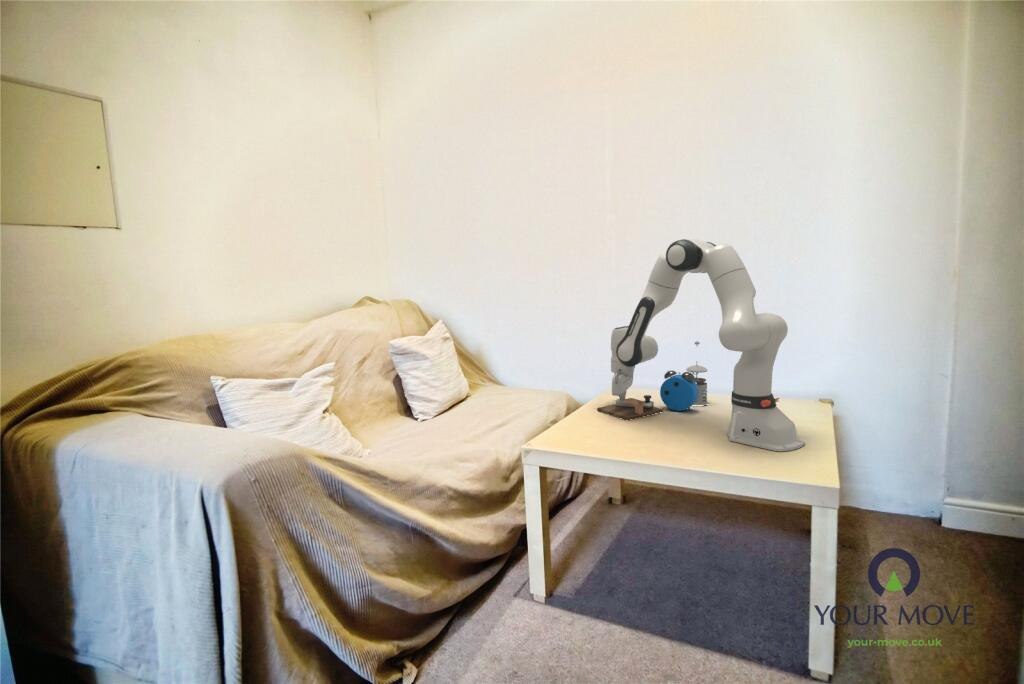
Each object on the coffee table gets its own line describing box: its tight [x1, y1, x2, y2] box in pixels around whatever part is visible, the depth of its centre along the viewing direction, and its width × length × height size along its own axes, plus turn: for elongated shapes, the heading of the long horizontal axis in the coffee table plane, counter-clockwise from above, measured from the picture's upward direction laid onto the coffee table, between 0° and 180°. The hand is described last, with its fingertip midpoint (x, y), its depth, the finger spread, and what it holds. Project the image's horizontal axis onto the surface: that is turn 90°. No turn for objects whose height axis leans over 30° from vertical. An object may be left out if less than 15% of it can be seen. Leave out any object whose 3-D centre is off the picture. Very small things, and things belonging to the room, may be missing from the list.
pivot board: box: [596, 403, 664, 421], centre depth 202 cm, size 17×18×1 cm
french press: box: [686, 340, 709, 406], centre depth 210 cm, size 10×12×25 cm
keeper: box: [625, 397, 645, 414], centre depth 197 cm, size 7×3×4 cm, turn 31°
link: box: [615, 394, 655, 409], centre depth 203 cm, size 14×4×4 cm, turn 62°
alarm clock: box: [659, 370, 699, 412], centre depth 201 cm, size 13×6×15 cm, turn 52°
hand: (622, 401), depth 209 cm, fingers closed
